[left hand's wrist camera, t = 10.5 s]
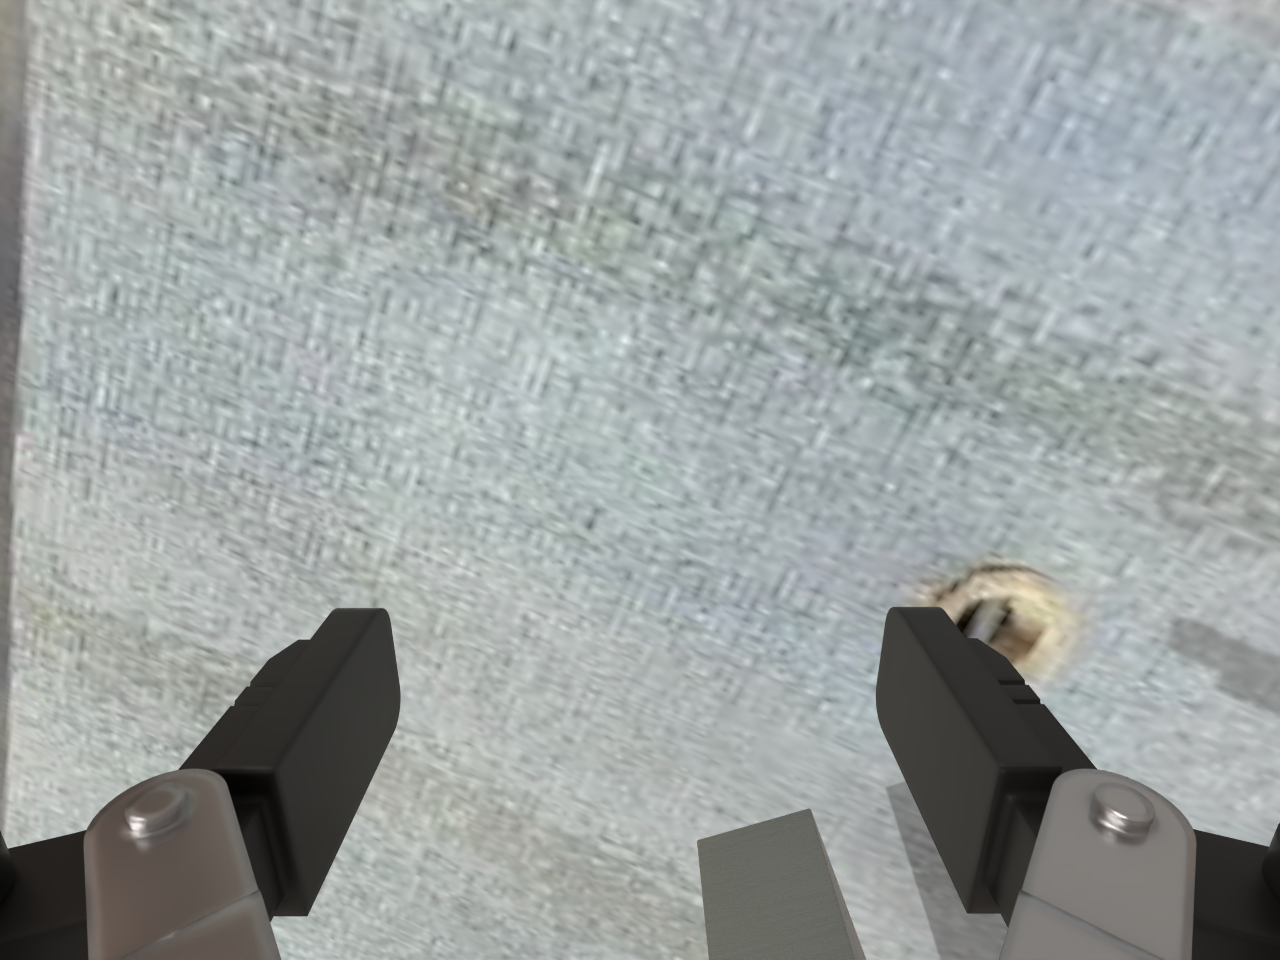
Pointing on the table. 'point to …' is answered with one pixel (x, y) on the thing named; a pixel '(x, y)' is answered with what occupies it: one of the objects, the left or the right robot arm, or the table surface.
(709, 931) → the bar
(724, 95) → the table surface
